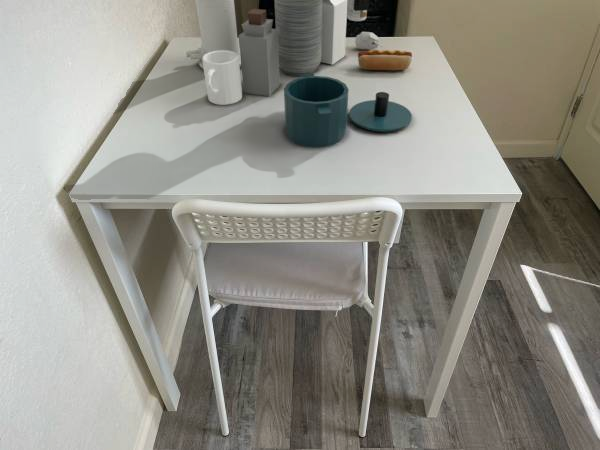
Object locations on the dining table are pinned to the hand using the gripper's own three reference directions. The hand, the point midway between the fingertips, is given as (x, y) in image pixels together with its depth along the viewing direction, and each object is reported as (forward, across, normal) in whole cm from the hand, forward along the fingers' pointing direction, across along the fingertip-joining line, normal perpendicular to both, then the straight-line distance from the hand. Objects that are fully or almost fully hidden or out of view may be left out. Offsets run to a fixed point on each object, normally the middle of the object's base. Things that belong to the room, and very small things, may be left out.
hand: (357, 5), depth 102 cm
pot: (+19, +21, -13) cm, 31 cm away
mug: (+19, +3, -32) cm, 38 cm away
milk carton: (+19, -18, -2) cm, 26 cm away
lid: (+18, +18, +2) cm, 25 cm away
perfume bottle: (+19, -2, -22) cm, 29 cm away
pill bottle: (+3, 0, 0) cm, 3 cm away
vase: (+19, -12, -11) cm, 25 cm away
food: (+19, -8, +11) cm, 23 cm away
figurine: (+19, -22, +11) cm, 31 cm away
